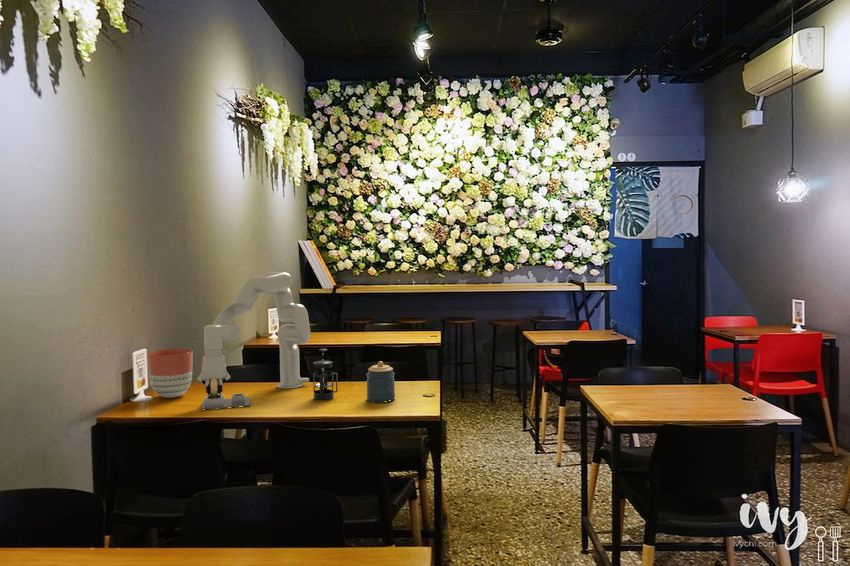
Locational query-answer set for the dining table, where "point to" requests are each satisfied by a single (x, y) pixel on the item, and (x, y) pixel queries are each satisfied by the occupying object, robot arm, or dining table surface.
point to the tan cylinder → (214, 388)
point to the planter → (170, 371)
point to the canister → (380, 383)
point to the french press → (323, 380)
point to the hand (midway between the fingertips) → (214, 393)
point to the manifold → (225, 401)
